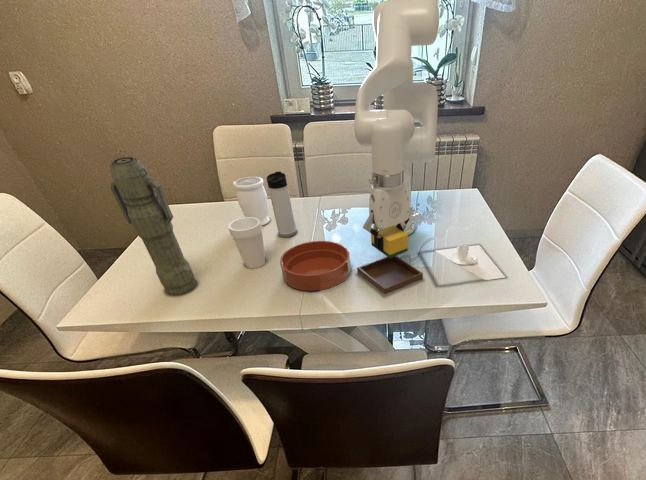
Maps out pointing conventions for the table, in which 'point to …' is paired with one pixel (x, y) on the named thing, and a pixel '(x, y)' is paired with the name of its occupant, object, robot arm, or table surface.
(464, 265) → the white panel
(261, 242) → the foam cup
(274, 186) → the travel mug
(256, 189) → the jar
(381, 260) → the tray
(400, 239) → the sponge
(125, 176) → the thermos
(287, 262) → the terracotta plant saucer
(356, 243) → the table surface
